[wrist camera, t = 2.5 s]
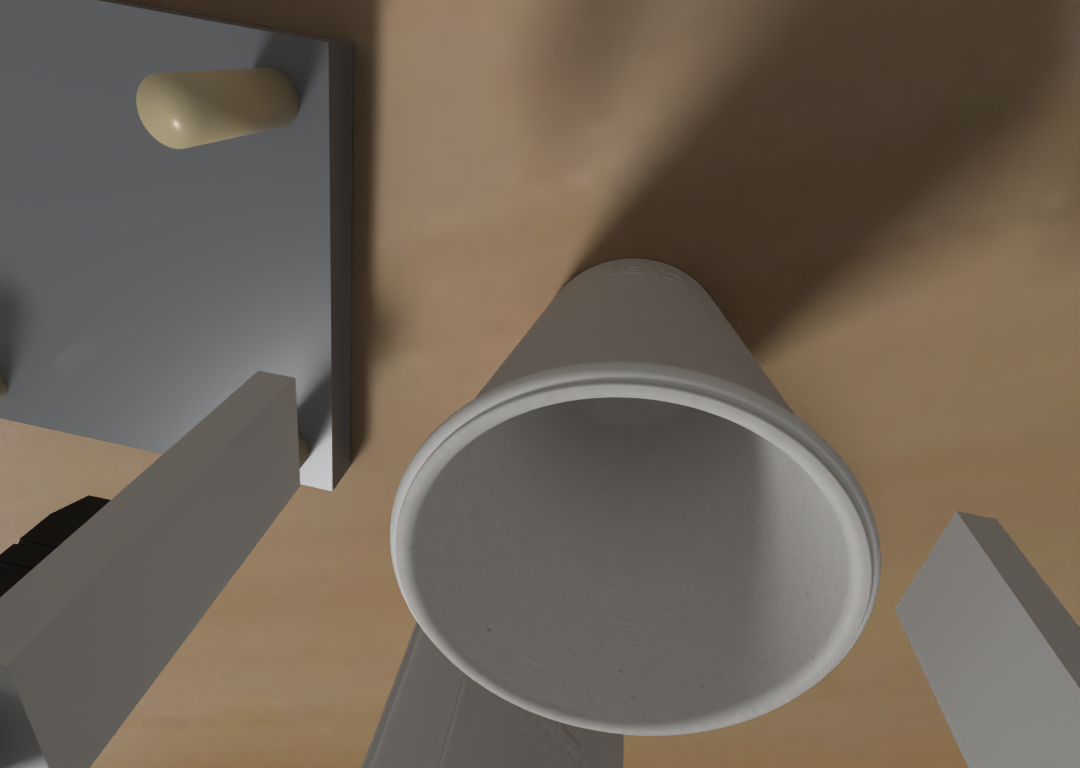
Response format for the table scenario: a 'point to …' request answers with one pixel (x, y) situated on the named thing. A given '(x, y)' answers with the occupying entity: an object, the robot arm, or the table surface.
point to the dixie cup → (635, 520)
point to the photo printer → (473, 724)
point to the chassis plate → (172, 222)
